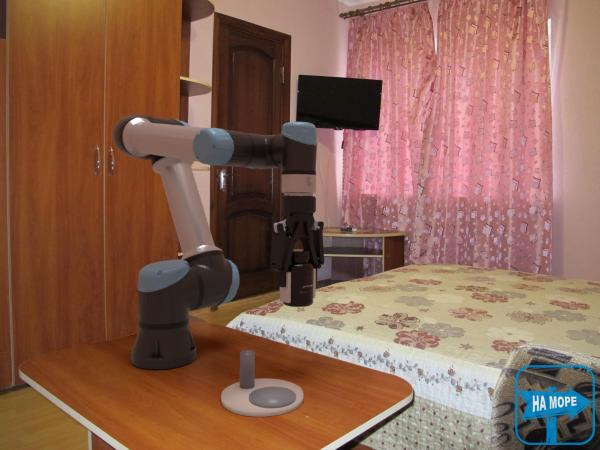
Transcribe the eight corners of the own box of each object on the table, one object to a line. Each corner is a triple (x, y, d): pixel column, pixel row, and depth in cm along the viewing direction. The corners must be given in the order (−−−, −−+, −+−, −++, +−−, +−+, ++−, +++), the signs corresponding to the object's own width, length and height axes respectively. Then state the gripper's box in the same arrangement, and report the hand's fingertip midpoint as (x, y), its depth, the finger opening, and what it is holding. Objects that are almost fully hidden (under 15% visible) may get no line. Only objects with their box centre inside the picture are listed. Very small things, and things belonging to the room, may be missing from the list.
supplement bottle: (310, 308, 105) (310, 252, 104) (279, 306, 106) (279, 251, 106) (315, 301, 112) (316, 248, 111) (286, 300, 113) (286, 247, 112)
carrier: (205, 397, 97) (205, 357, 97) (268, 377, 108) (268, 341, 108) (255, 425, 85) (255, 380, 85) (320, 399, 96) (320, 359, 96)
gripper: (275, 194, 98) (274, 309, 99) (342, 195, 112) (340, 296, 113) (252, 194, 104) (251, 302, 105) (318, 194, 117) (317, 291, 118)
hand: (297, 299), depth 109 cm, fingers closed on supplement bottle, 7 cm apart
